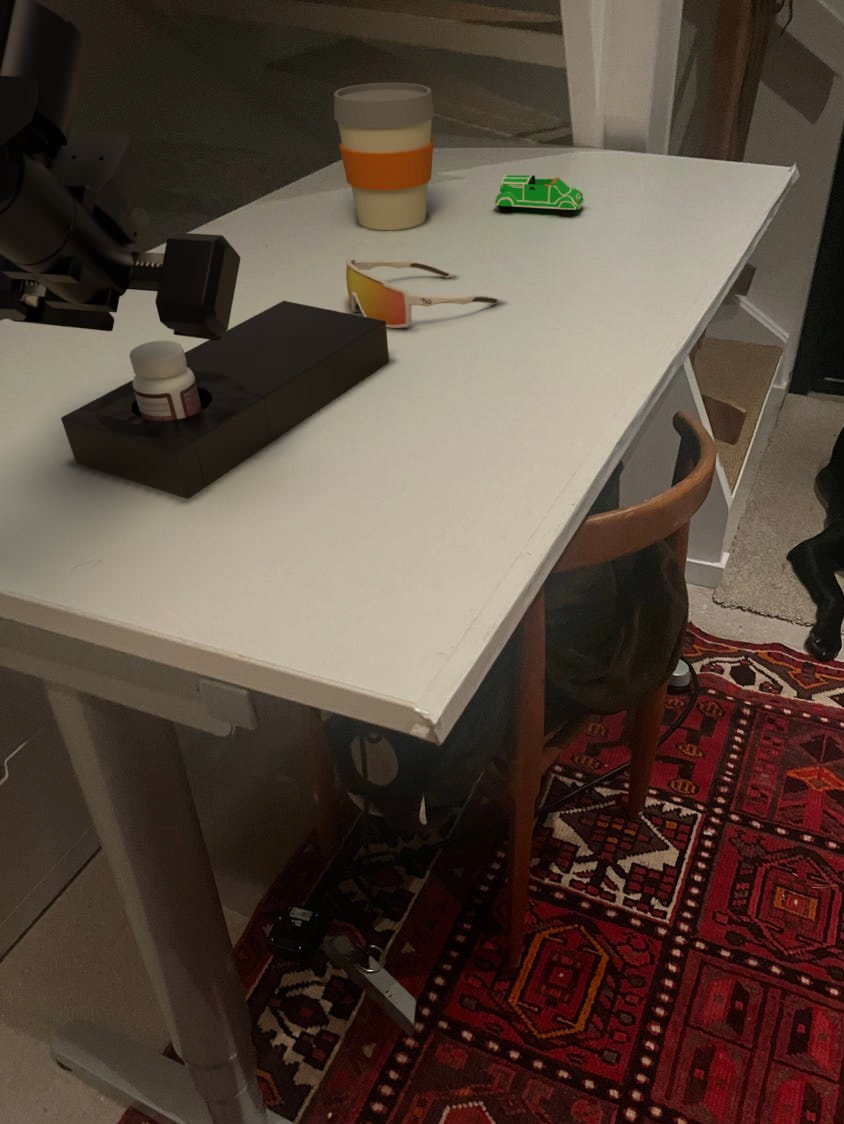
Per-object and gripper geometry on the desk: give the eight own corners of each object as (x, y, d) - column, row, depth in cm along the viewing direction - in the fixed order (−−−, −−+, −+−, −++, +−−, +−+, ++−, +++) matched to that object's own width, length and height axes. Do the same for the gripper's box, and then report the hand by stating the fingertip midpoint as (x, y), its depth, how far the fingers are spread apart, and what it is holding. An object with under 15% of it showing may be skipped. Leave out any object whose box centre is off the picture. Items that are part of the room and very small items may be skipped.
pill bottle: (195, 429, 79) (172, 333, 73) (219, 450, 76) (198, 351, 70) (141, 446, 77) (114, 348, 71) (164, 469, 74) (138, 368, 68)
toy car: (491, 213, 126) (490, 178, 123) (500, 202, 129) (500, 168, 127) (578, 218, 123) (579, 182, 120) (584, 207, 127) (586, 172, 124)
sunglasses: (323, 297, 102) (323, 250, 99) (440, 289, 109) (444, 245, 106) (384, 339, 92) (386, 288, 90) (507, 328, 100) (513, 280, 97)
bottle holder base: (188, 498, 70) (176, 451, 68) (75, 463, 75) (60, 417, 72) (389, 361, 89) (386, 320, 86) (289, 339, 93) (283, 300, 91)
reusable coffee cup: (346, 236, 119) (332, 104, 109) (344, 209, 128) (331, 84, 119) (443, 231, 120) (437, 99, 110) (434, 204, 129) (428, 80, 120)
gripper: (196, 98, 55) (295, 236, 70) (-73, 90, 58) (77, 223, 74) (163, 278, 54) (270, 378, 69) (-108, 259, 58) (50, 358, 73)
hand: (164, 329), depth 71 cm, fingers open, 9 cm apart
